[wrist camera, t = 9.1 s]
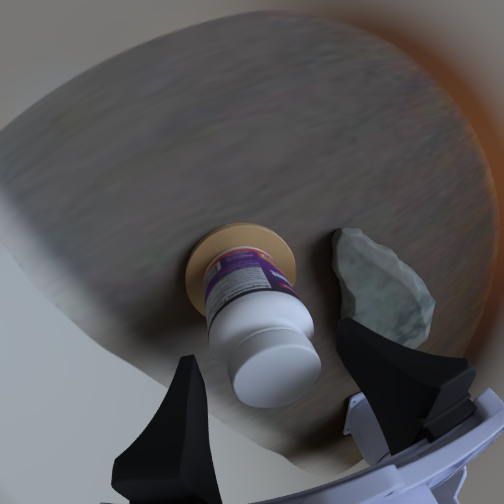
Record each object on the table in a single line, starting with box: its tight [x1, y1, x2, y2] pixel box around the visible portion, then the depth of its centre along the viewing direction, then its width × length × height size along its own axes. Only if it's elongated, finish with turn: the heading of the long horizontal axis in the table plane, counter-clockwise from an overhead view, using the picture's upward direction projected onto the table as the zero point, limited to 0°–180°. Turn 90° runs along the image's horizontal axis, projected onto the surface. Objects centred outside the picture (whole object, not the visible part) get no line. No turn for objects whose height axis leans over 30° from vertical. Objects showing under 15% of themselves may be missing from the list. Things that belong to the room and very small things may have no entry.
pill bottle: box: [204, 246, 321, 408], centre depth 16 cm, size 5×5×10 cm
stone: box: [331, 228, 436, 349], centre depth 23 cm, size 17×3×10 cm
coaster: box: [185, 223, 296, 317], centre depth 21 cm, size 8×8×1 cm
